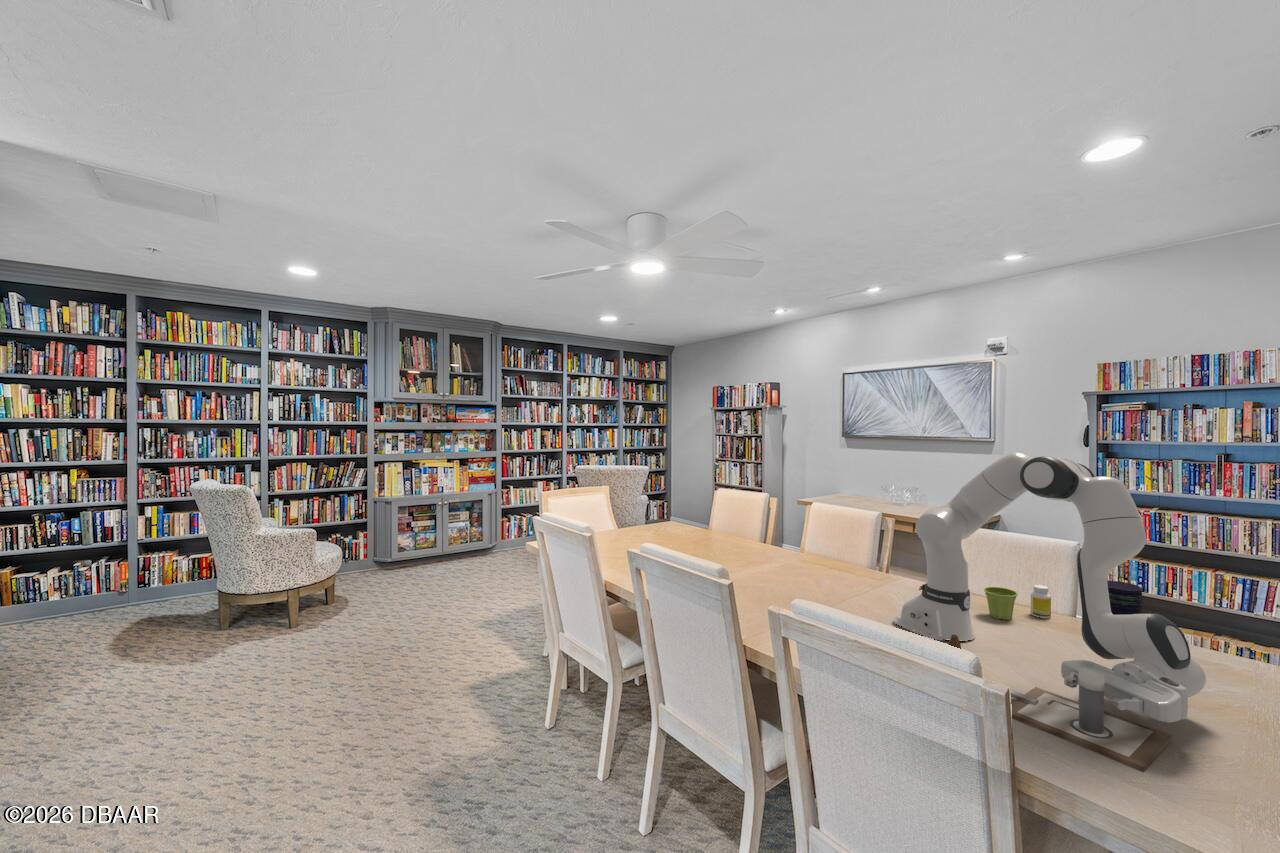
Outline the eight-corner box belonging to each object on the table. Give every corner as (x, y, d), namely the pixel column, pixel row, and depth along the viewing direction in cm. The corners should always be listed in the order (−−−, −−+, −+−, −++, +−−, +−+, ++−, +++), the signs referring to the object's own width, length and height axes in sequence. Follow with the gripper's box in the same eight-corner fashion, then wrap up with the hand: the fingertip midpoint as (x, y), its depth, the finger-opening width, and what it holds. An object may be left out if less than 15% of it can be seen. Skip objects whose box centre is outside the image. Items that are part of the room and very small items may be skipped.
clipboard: (993, 710, 122) (993, 703, 122) (1028, 687, 131) (1028, 681, 131) (1143, 771, 100) (1143, 762, 100) (1171, 739, 110) (1171, 731, 110)
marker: (1074, 726, 113) (1075, 670, 113) (1082, 720, 115) (1082, 665, 115) (1100, 736, 110) (1100, 678, 109) (1107, 729, 112) (1107, 673, 112)
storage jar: (1104, 637, 161) (1104, 587, 161) (1095, 625, 170) (1095, 578, 170) (1148, 643, 156) (1148, 592, 156) (1136, 631, 165) (1136, 583, 165)
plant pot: (1005, 624, 172) (1004, 597, 172) (977, 614, 181) (977, 588, 181) (1024, 619, 175) (1024, 593, 175) (996, 610, 184) (996, 585, 184)
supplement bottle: (1054, 619, 176) (1054, 589, 175) (1035, 618, 177) (1035, 588, 176) (1045, 613, 181) (1045, 584, 181) (1027, 612, 182) (1027, 583, 182)
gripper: (1086, 649, 126) (1041, 657, 122) (1196, 692, 106) (1147, 702, 103) (1086, 676, 126) (1041, 684, 122) (1196, 723, 106) (1147, 735, 103)
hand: (1090, 693), depth 112 cm, fingers open, 8 cm apart
